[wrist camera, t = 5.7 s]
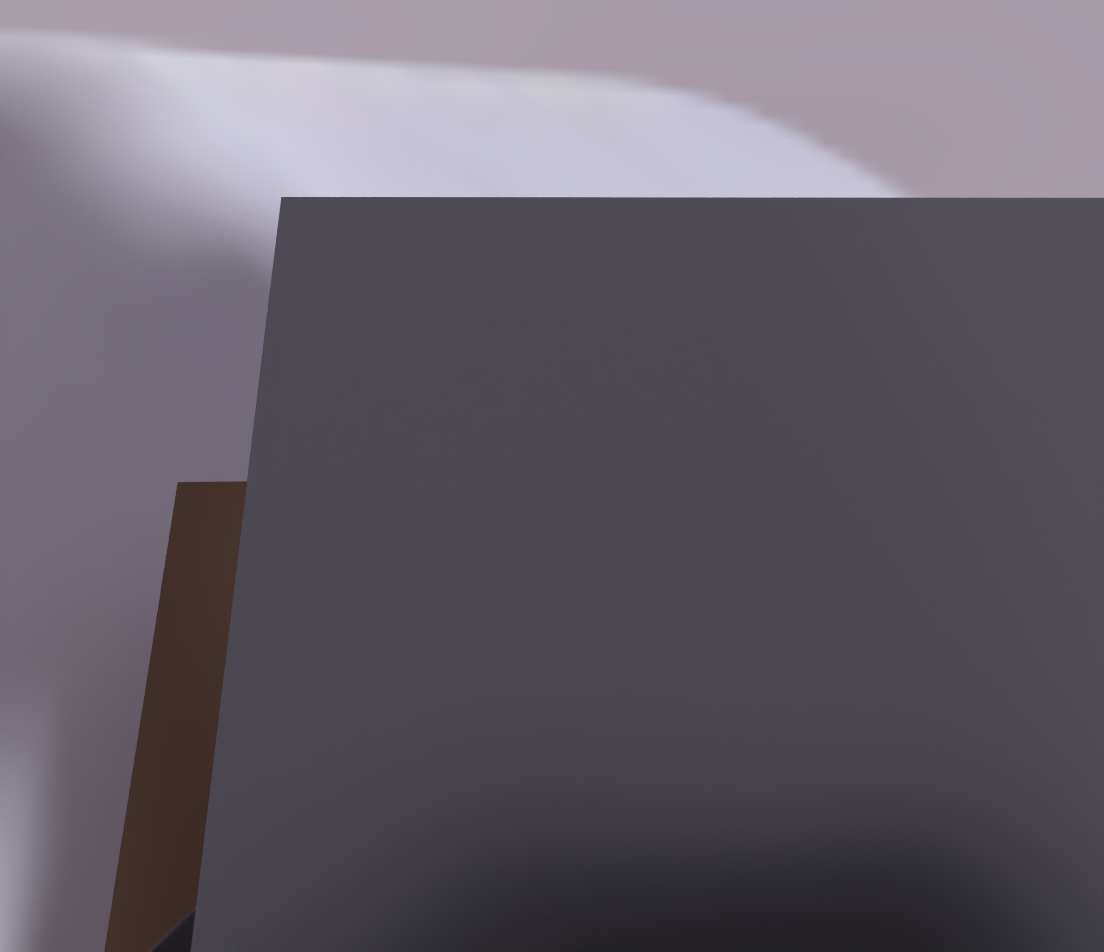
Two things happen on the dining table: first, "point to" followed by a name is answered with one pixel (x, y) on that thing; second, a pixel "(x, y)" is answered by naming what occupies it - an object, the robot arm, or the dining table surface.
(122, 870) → the bore block
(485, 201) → the square axle
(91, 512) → the dining table surface
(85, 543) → the dining table surface
